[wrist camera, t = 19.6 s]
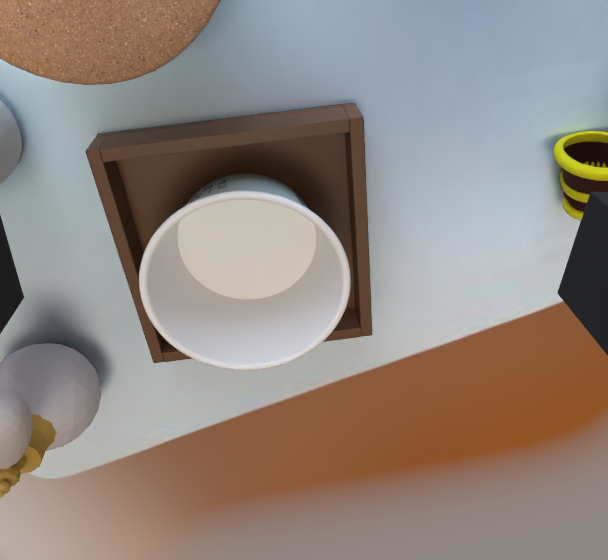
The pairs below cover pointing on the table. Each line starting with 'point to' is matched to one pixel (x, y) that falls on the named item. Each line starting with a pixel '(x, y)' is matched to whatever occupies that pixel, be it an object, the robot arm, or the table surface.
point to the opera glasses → (582, 168)
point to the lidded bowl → (98, 36)
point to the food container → (245, 275)
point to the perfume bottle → (42, 405)
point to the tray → (239, 160)
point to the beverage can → (8, 142)
